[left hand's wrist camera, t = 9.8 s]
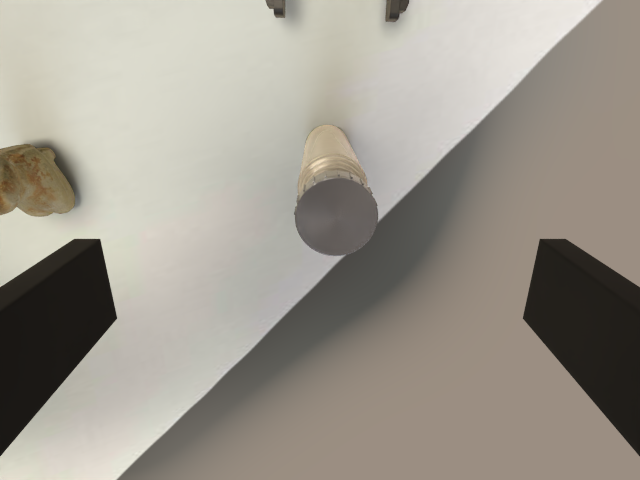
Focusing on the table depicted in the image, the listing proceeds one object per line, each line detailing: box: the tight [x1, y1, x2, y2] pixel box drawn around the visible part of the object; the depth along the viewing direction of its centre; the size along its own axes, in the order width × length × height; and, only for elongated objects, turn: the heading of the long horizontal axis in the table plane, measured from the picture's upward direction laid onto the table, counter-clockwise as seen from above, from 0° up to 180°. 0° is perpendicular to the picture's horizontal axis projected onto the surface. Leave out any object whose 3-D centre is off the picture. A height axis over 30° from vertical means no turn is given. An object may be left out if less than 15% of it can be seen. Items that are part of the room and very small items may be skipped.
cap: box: [294, 169, 378, 256], centre depth 21 cm, size 4×4×2 cm
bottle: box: [298, 125, 367, 195], centre depth 30 cm, size 4×4×22 cm
